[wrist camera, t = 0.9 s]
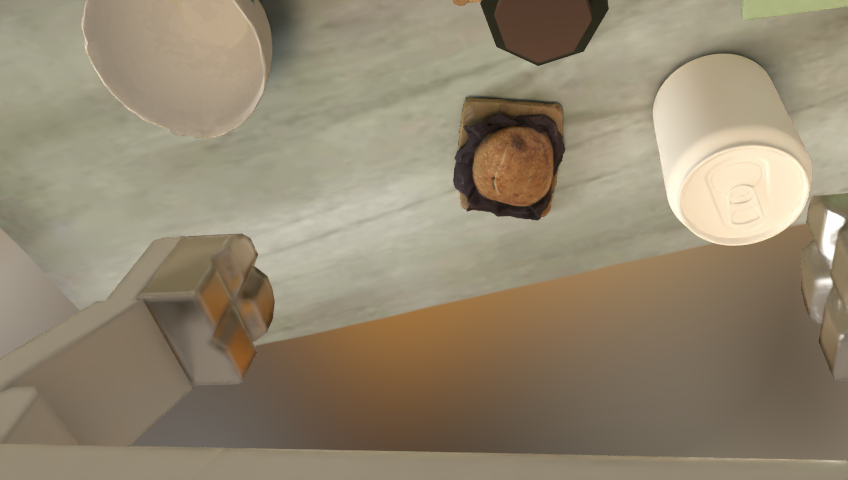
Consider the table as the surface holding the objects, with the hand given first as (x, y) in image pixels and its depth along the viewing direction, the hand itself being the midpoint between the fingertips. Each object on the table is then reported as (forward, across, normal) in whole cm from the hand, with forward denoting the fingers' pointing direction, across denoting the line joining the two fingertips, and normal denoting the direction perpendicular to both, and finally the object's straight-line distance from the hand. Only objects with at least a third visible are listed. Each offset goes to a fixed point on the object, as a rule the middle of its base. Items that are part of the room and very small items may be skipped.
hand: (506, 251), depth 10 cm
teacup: (+40, +26, +6) cm, 48 cm away
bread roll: (+40, +6, +21) cm, 46 cm away
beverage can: (+40, -9, +18) cm, 45 cm away
